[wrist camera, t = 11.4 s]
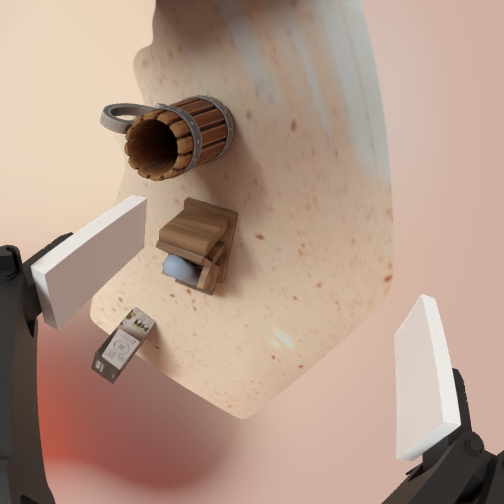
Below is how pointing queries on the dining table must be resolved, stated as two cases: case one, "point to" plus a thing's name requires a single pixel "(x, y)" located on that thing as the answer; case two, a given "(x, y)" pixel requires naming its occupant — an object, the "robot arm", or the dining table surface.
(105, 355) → the coffee box
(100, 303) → the dining table surface
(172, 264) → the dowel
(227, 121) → the mug
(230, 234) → the socket block
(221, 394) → the dining table surface
